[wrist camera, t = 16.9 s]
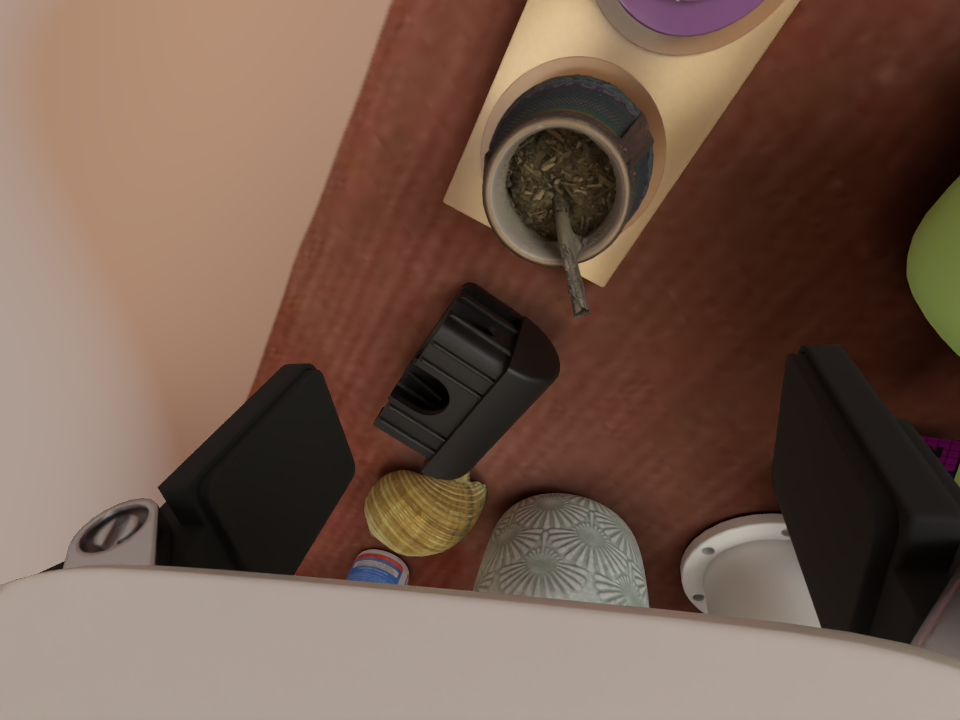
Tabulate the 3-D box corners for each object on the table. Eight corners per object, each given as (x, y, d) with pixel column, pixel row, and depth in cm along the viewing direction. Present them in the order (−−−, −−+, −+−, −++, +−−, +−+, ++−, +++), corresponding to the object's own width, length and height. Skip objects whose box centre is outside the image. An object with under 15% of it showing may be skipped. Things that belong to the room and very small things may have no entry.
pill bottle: (346, 549, 50) (295, 650, 42) (395, 544, 48) (351, 650, 40) (372, 586, 52) (329, 689, 44) (420, 583, 50) (383, 690, 42)
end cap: (482, 430, 39) (461, 499, 33) (399, 377, 38) (362, 439, 32) (566, 336, 33) (557, 400, 27) (472, 272, 32) (443, 325, 26)
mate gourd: (610, 32, 23) (603, 34, 15) (678, 188, 25) (706, 265, 17) (473, 124, 26) (404, 168, 18) (546, 254, 29) (516, 346, 20)
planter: (525, 450, 39) (499, 579, 30) (679, 517, 39) (699, 665, 30) (468, 544, 46) (433, 672, 37) (599, 600, 46) (596, 741, 37)
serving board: (901, -164, 19) (923, -178, 18) (603, 277, 31) (603, 289, 29) (664, -312, 19) (669, -340, 17) (449, 194, 30) (441, 203, 28)
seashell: (477, 435, 44) (426, 435, 37) (517, 513, 42) (470, 529, 35) (393, 490, 47) (330, 499, 40) (425, 566, 45) (365, 590, 38)
